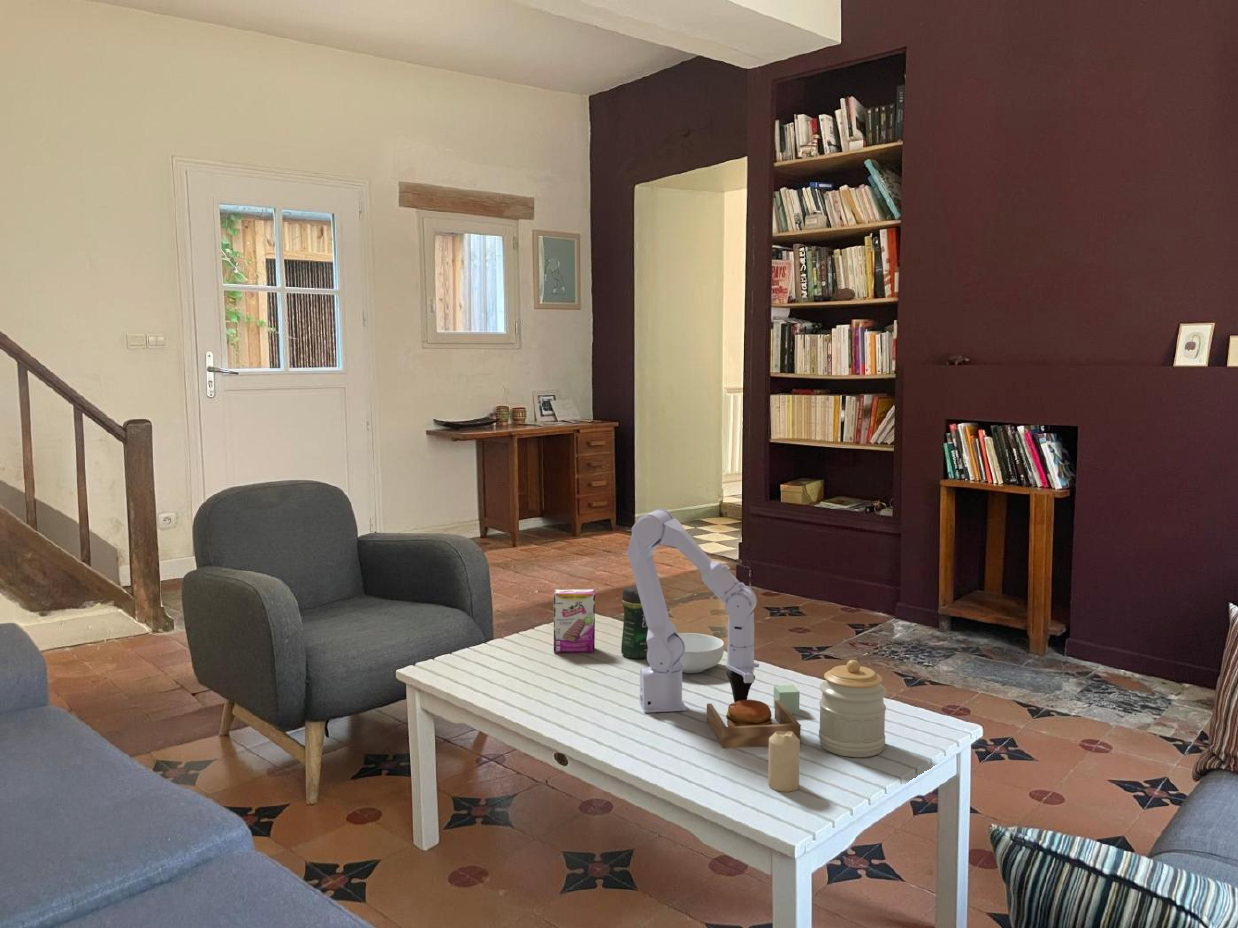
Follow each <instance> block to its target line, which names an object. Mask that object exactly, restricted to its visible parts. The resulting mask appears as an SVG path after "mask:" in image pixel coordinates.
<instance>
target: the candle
mask: <svg viewBox="0 0 1238 928" xmlns="http://www.w3.org/2000/svg"><path fill="white" fill-rule="evenodd" d="M800 745H801V739H800V740H799V739H798V738H797V737H796V736H795V734H794V733H793V732H791V731H788V732H782V731H778V732H777V731H776V732H775V733H774V734H773V735H772V736H771V737H770V738H769V746H768V769H767V770H768V771H767V772H768V773H767V774H768V779H767V780H768V781H767V782H768V783H767V785H768V786H769V788H770V789H772V790H775V791H776V792H777V791H778V792H781V793H782V792H783V793H784V792H785V793H789V792H794V791H796V790H798V789H799V787H800V758H801V757H800V750H801V749H800V748H801V746H800Z"/></svg>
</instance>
